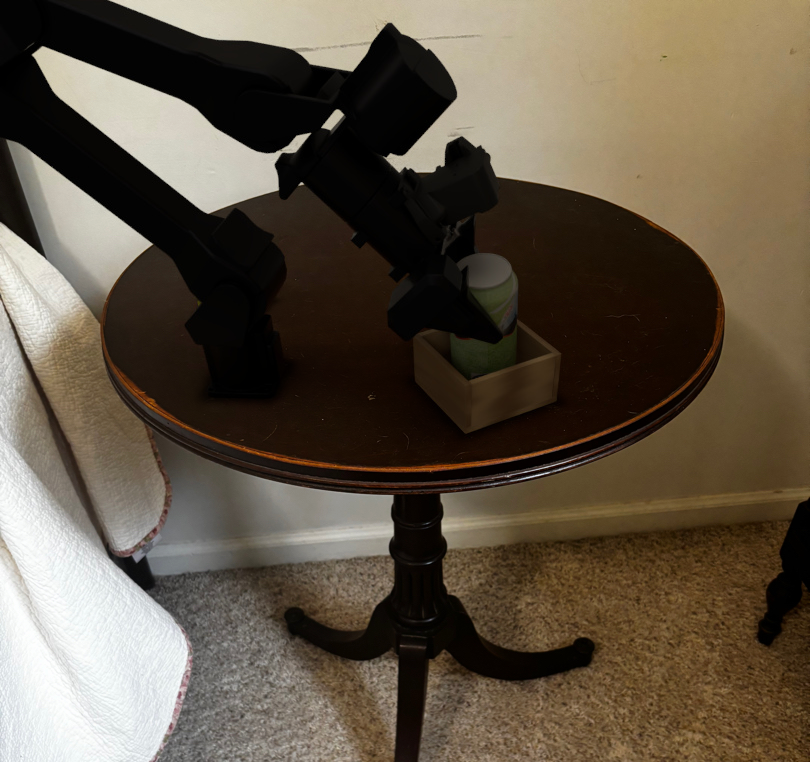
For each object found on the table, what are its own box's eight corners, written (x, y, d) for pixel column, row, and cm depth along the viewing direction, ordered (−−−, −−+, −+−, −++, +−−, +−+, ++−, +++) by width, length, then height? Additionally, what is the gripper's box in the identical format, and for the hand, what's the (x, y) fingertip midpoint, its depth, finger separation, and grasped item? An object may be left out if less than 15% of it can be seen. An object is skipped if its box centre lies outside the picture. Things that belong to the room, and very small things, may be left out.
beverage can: (515, 362, 78) (523, 242, 70) (513, 405, 73) (521, 281, 65) (451, 360, 79) (451, 241, 71) (445, 402, 74) (444, 279, 65)
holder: (465, 434, 71) (465, 386, 68) (414, 381, 78) (412, 334, 74) (556, 401, 74) (561, 353, 71) (500, 353, 81) (502, 306, 77)
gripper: (425, 163, 53) (577, 318, 59) (448, 79, 66) (570, 214, 72) (322, 274, 59) (469, 402, 66) (362, 177, 72) (481, 293, 79)
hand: (500, 321), depth 71 cm, fingers open, 6 cm apart
